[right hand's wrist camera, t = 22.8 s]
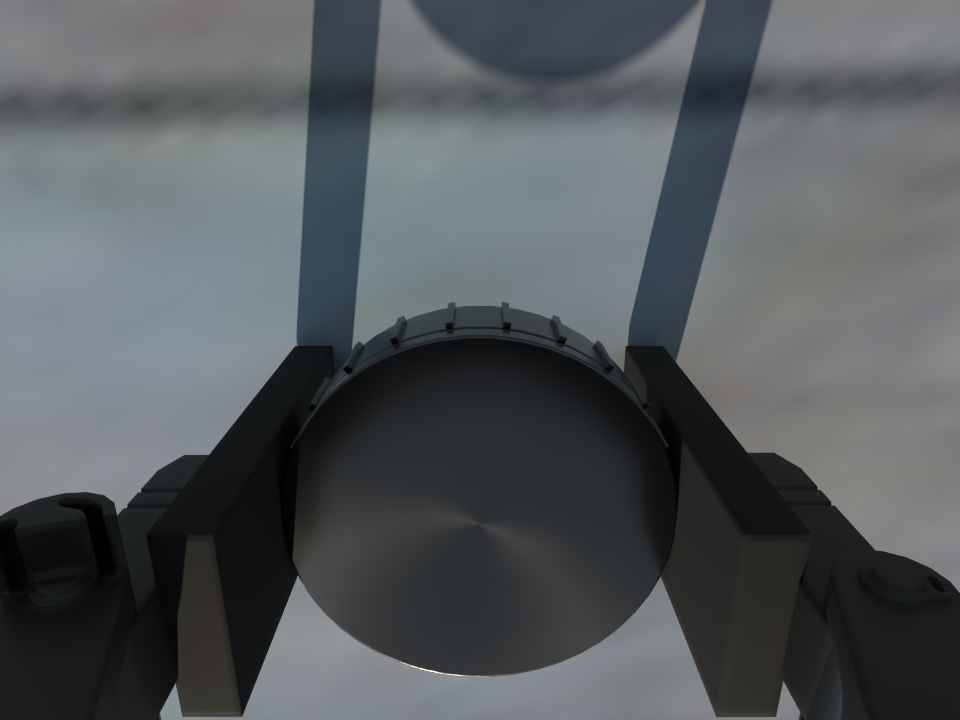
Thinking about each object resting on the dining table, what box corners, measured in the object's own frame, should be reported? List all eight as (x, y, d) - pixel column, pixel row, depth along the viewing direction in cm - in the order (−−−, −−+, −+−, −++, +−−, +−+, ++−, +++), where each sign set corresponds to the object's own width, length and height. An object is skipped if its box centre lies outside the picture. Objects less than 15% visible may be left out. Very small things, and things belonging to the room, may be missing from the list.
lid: (306, 606, 13) (282, 672, 11) (295, 288, 11) (265, 317, 9) (630, 622, 13) (650, 690, 11) (684, 311, 11) (717, 343, 9)
